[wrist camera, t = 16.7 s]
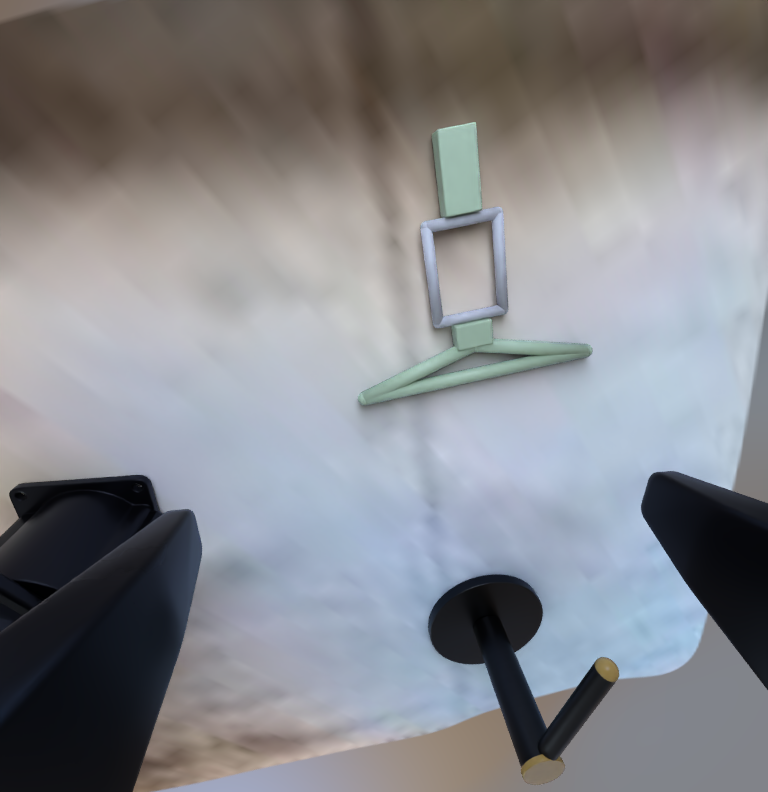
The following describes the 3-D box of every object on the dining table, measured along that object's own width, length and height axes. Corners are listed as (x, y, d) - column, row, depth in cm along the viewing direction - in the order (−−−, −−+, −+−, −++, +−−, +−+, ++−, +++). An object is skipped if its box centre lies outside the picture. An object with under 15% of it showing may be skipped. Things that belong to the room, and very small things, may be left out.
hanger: (596, 358, 21) (607, 96, 16) (360, 410, 20) (301, 155, 16) (585, 352, 22) (592, 102, 17) (359, 402, 21) (303, 158, 17)
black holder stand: (412, 650, 29) (444, 815, 21) (473, 523, 25) (541, 666, 17) (510, 659, 31) (574, 815, 23) (581, 542, 27) (689, 680, 19)
